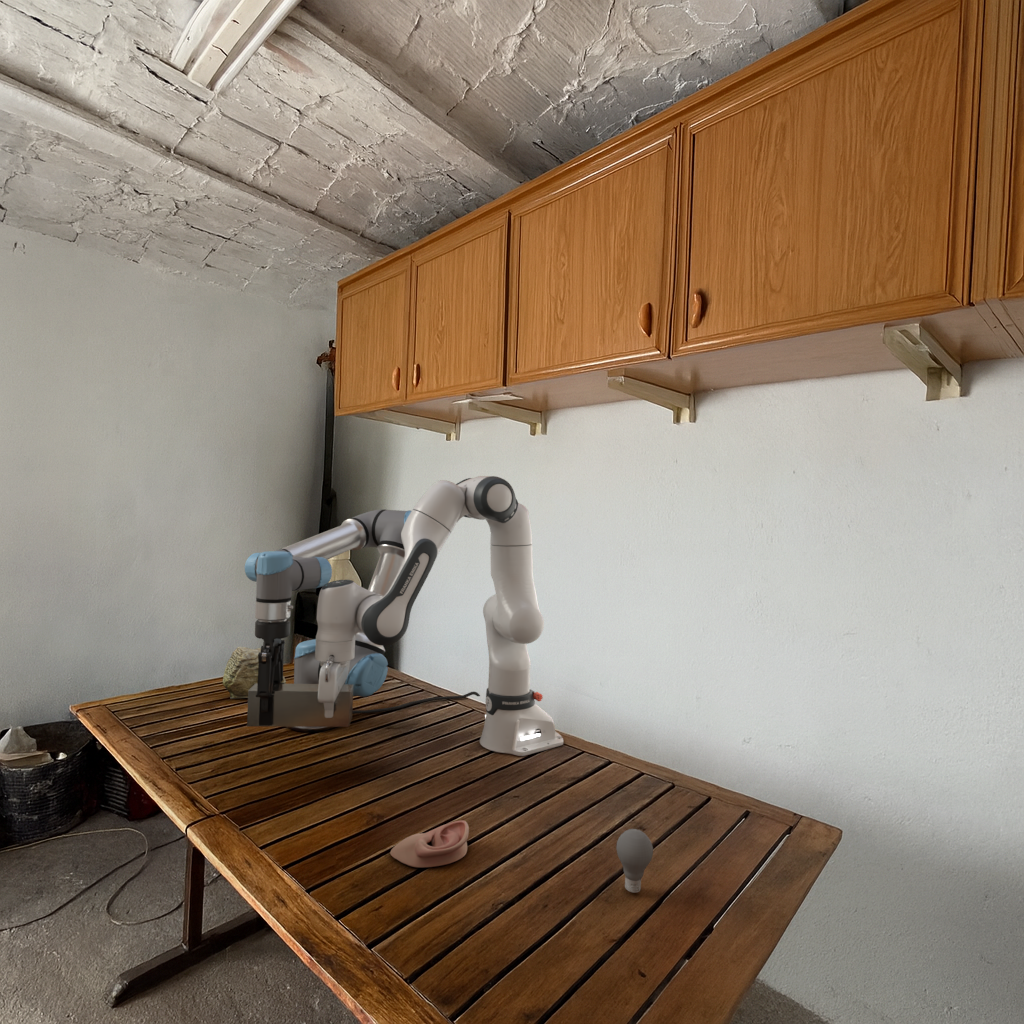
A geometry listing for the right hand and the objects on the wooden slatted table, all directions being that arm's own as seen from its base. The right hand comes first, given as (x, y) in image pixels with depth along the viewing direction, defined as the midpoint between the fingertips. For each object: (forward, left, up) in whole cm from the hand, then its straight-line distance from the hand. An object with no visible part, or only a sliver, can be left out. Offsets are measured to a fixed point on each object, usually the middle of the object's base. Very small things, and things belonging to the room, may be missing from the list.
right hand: (332, 710), depth 146 cm
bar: (+6, -3, -3) cm, 8 cm away
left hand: (+13, -5, -2) cm, 14 cm away
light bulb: (-37, +65, -14) cm, 76 cm away
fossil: (+11, -63, -14) cm, 66 cm away
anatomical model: (-10, +41, -14) cm, 44 cm away
